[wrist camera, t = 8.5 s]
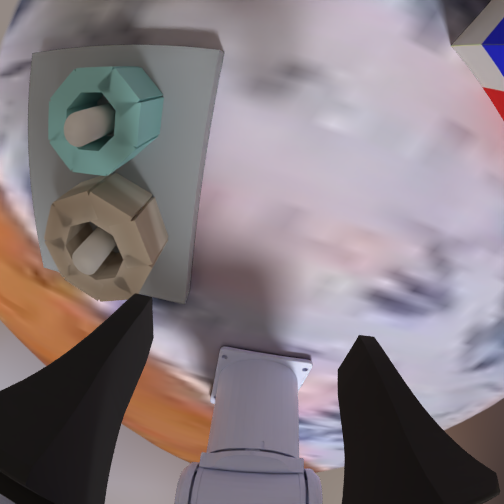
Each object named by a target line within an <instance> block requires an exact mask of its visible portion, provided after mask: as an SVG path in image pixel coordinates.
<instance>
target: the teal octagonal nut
mask: <svg viewBox="0 0 504 504" xmlns="http://www.w3.org/2000/svg"><path fill="white" fill-rule="evenodd" d="M103 95H104V96H105V97H106V99H107V100H108V101H109V103H110V104H111V105H112V106H113V108H114V109H115V110H116V113H115V128H114V136H107V135H105V136H103V137H101V138H99V139H96V140H94V141H92V142H90V143H88V144H86V145H84V146H81V147H75V146H73V145H71V144H70V143H69V142H68V141H67V140H66V138H65V135H64V124H65V121H66V119H67V117H68V116H69V115H70V114H72V113H74V112H77V111H81V110H84V109H88V108H91V107H95V106H97V101H98V100H99V99H100V98H101V97H102V96H103ZM161 96H163V94H162V93H161V91H160V90H159V89H158V87H157V86H156V85H155V84H154V82H153V81H152V80H151V79H150V77H149V76H148V75H147V74H146V72H145V71H144V70H143V69H142V68H139V67H135V66H111V67H85V68H76V69H74V70H73V71H72V72H71V73H70V75H69V76H68V77H67V78H66V79H65V81H64V82H63V83H62V84H61V85H60V87H59V88H58V89H57V90H56V92H55V93H54V94H53V95H52V97H51V98H50V100H51V101H49V117H48V140H51V141H50V142H49V143H50V144H51V145H52V147H53V148H54V150H55V151H56V152H57V154H58V155H59V156H60V158H61V159H62V160H63V162H64V163H65V164H66V165H67V167H68V168H69V169H70V171H71V170H73V172H77V173H85V174H93V175H100V176H107V175H109V174H111V173H112V172H114V171H115V170H116V169H118V168H119V167H121V166H122V165H124V164H125V163H127V162H128V161H130V160H131V159H133V158H134V157H135V156H136V155H137V154H138V153H139V152H141V151H142V150H143V149H144V148H145V147H146V146H148V145H149V144H150V143H151V142H152V141H153V140H155V139H156V138H157V137H158V135H159V134H160V127H161V118H162V109H163V101H164V97H161Z"/></svg>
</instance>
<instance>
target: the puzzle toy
mask: <svg viewBox="0 0 504 504" xmlns="http://www.w3.org/2000/svg"><path fill="white" fill-rule="evenodd" d="M451 47H452V48H453V49H454V50H455V51H456V53H457V54H458V55H459V56H460V58H461V59H462V60H463V61H464V63H465V64H466V65H467V67H468V68H469V69H470V71H471V72H472V73H473V75H474V76H475V77H476V79H477V80H478V82H479V83H480V84H481V86H482V87H483V89H484V90H485V92H486V93H487V95H488V96H489V98H490V99H491V101H492V102H493V104H494V106H495V107H496V109H497V110H498V112H499V114H500V115H501V117H502V119H503V120H504V0H491V2H490V3H489V4H488V5H487V6H486V7H485V8H484V9H483V11H482V12H481V13H480V14H479V15H478V16H477V17H476V18H475V20H474V21H473V22H472V23H471V24H470V25H469V26H468V27H467V29H466V30H465V31H464V32H463V33H462V34H461V35H460V36H459V37H458V39H457V40H456V41H455V42H454V43H453V44H452V45H451Z"/></svg>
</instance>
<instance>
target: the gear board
mask: <svg viewBox="0 0 504 504" xmlns="http://www.w3.org/2000/svg"><path fill="white" fill-rule="evenodd" d="M223 57H224V52H223V51H221V50H216V49H207V48H197V47H184V46H168V45H103V46H87V47H76V48H66V49H58V50H50V51H43V52H37V53H33V54H32V62H31V72H30V85H29V103H28V148H29V168H30V180H31V191H32V200H33V208H34V215H35V222H36V229H37V235H38V240H39V246H40V251H41V256H42V261H43V265H44V268H48V269H51V270H54V271H58V272H59V270H58V268H57V266H56V264H55V262H54V260H53V258H52V256H51V254H50V252H49V250H48V248H47V246H46V244H45V241H46V240H45V239H44V235H45V230H46V225H47V221H48V216H49V212H50V208H51V204H53V202H54V201H56V200H57V199H58V198H60V197H61V196H62V195H64V194H65V193H66V192H68V191H69V190H71V189H72V188H73V187H75V186H76V185H78V184H79V183H81V182H84V181H87V180H90V179H93V178H96V177H99V176H100V175H93V174H85V173H77V172H73V170H71V171H70V169H69V168H68V167H67V165H66V164H65V163H64V162H63V160H62V159H61V158H60V156H59V155H58V154H57V152H56V151H55V150H54V148H53V147H52V145H51V144H50V143H49V142H50V141H51V140H48V117H49V101H51V100H50V98H51V97H52V95H53V94H54V93H55V92H56V90H57V89H58V88H59V87H60V85H61V84H62V83H63V82H64V81H65V79H66V78H67V77H68V76H69V75H70V73H71V72H72V71H73V70H74V69H76V68H85V67H111V66H135V67H139V68H142V69H143V70H144V71H145V72H146V74H147V75H148V76H149V77H150V79H151V80H152V81H153V82H154V84H155V85H156V86H157V87H158V89H159V90H160V91H161V93H162V94H163V96H161V97H164V101H163V109H162V118H161V127H160V134H159V135H158V137H157V138H156V139H155V140H153V141H152V142H151V143H150V144H149V145H148V146H146V147H145V148H144V149H143V150H142V151H141V152H139V153H138V154H137V155H136V156H135V157H134V158H133V159H131V160H130V161H128V162H127V163H125V164H124V165H122V166H121V167H119V168H118V169H116V170H115V171H114V172H113V173H114V174H115V173H118V174H120V175H121V176H123V177H124V178H126V179H128V180H129V181H131V182H133V183H134V184H136V185H138V186H139V187H141V188H143V189H144V190H146V191H148V192H149V193H151V194H153V195H152V197H151V198H154V197H155V199H156V202H157V205H158V208H159V211H160V214H161V217H162V219H163V222H164V225H165V228H166V231H167V234H168V236H169V237H168V241H167V243H166V245H165V246H164V248H163V250H162V252H161V254H160V255H159V257H158V259H157V261H156V263H155V264H154V266H153V268H152V270H151V272H150V273H149V275H148V277H147V279H146V281H145V283H144V284H143V286H142V288H141V290H140V292H139V294H143V295H147V296H151V297H155V298H160V299H164V300H168V301H173V302H177V303H181V304H185V302H186V299H187V296H188V294H189V291H190V280H191V270H192V260H193V251H194V242H195V233H196V225H197V217H198V209H199V201H200V193H201V186H202V179H203V172H204V165H205V158H206V152H207V145H208V139H209V133H210V127H211V121H212V115H213V109H214V104H215V98H216V93H217V87H218V82H219V77H220V72H221V67H222V62H223ZM115 113H116V110H115V109H114V108H113V106H112V105H111V104H110V103H109V101H108V100H107V99H106V97H105V96H104V95H103V96H102V97H101V98H100V99H99V100H98V101H97V106H95V107H91V108H88V109H84V110H81V111H77V112H74V113H72V114H70V115H69V116H68V117H67V119H66V121H65V124H64V135H65V138H66V140H67V141H68V142H69V143H70V144H71V145H73V146H75V147H81V146H84V145H86V144H88V143H90V142H92V141H94V140H96V139H99V138H101V137H103V136H105V135H107V136H114V128H115ZM89 223H90V225H91V227H92V230H93V232H92V233H91V234H90V235H89V236H88V237H87V239H86V240H85V241H84V242H83V243H82V244H81V245H80V246H79V247H78V248H77V249H76V250H75V252H74V253H73V255H72V260H73V263H74V265H75V267H76V268H77V269H78V270H79V271H80V272H82V273H84V274H86V275H92V274H94V273H95V272H96V271H97V269H98V268H99V267H100V265H101V264H102V263H103V261H104V260H105V259H106V257H107V256H108V255H109V254H110V252H111V251H113V252H115V253H119V252H120V251H119V249H118V247H117V244H116V242H115V240H114V237H113V235H111V234H109V233H108V232H106V231H105V230H103V229H101V228H100V227H98V226H97V225H95V224H93V223H92V222H90V221H89Z"/></svg>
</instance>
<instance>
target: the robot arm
mask: <svg viewBox="0 0 504 504" xmlns="http://www.w3.org/2000/svg"><path fill="white" fill-rule="evenodd" d="M152 341H153V311H152V297H149V296H145V295H141V294H136V293H135V294H134V295H132V296H131V297H130V298H129V299H128V300H127V301H126V302H125V303H124V304H123V305H122V306H121V307H120V308H118V309H117V310H116V311H115V312H114V313H113V314H112V315H111V316H110V317H109V318H108V319H107V320H105V321H104V322H103V323H102V324H101V325H100V326H99V327H97V328H96V329H95V330H94V331H93V332H92V333H91V334H89V335H88V336H87V337H86V338H84V339H83V340H82V341H81V342H79V343H78V344H77V345H76V346H74V347H73V348H72V349H71V350H69V351H68V352H67V353H65V354H64V355H62V356H61V357H60V358H58V359H57V360H55V361H54V362H52V363H51V364H49V365H48V366H46V367H45V368H43V369H41V370H40V371H38V372H36V373H35V374H33V375H31V376H29V377H28V378H26V379H24V380H22V381H20V382H18V383H16V384H14V385H12V386H10V387H8V388H6V389H4V390H1V391H0V504H104V503H105V496H106V489H107V482H108V477H109V472H110V467H111V462H112V458H113V453H114V449H115V445H116V441H117V437H118V433H119V430H120V426H121V422H122V420H123V417H124V414H125V411H126V409H127V406H128V404H129V402H130V399H131V397H132V394H133V392H134V390H135V387H136V385H137V383H138V380H139V378H140V376H141V373H142V371H143V369H144V366H145V364H146V361H147V358H148V354H149V351H150V348H151V344H152ZM312 366H313V364H312V361H311V360H306V359H299V358H292V357H285V356H278V355H272V354H266V353H260V352H254V351H248V350H242V349H237V348H232V347H222V348H221V349H220V352H219V358H218V363H217V368H216V373H215V378H214V383H213V389H212V394H211V399H210V402H211V403H213V404H215V405H214V411H213V417H212V423H211V429H210V435H209V441H208V447H207V453H203V452H202V453H201V458H200V463H198V462H192V463H191V464H190V465H189V466H187V467H186V468H185V469H184V470H183V471H182V473H181V475H180V478H179V481H178V484H177V489H176V494H175V503H174V504H322V487H321V482H320V479H319V477H318V475H316V474H315V473H314V471H313V470H312V469H304V459H303V458H299V414H298V391H299V389H300V387H301V386H302V384H303V382H304V380H305V379H306V377H307V375H308V373H309V372H310V370H311V368H312ZM338 400H339V408H340V416H341V424H342V432H343V441H344V453H345V466H344V469H345V470H344V487H343V498H342V504H483V503H485V502H487V501H489V500H490V499H492V498H494V497H496V496H497V495H499V493H500V489H499V483H498V479H497V475H496V473H495V472H494V471H492V470H491V469H489V468H488V467H486V466H485V465H483V464H482V463H480V462H479V461H477V460H476V459H475V458H473V457H472V456H471V455H470V454H468V453H467V452H466V451H465V450H463V449H462V448H461V447H460V446H459V445H458V444H457V443H456V442H455V441H454V440H453V439H452V438H451V437H450V436H448V435H447V434H446V433H445V431H444V430H443V429H442V428H441V427H440V426H439V425H438V424H437V423H436V422H435V421H434V419H433V418H432V417H431V416H430V415H429V414H428V412H427V411H426V410H425V409H424V407H423V406H422V405H421V404H420V402H419V401H418V400H417V398H416V397H415V396H414V394H413V393H412V391H411V390H410V389H409V387H408V386H407V384H406V383H405V382H404V380H403V379H402V377H401V376H400V374H399V373H398V371H397V370H396V368H395V367H394V365H393V364H392V362H391V361H390V359H389V358H388V356H387V355H386V353H385V352H384V350H383V349H382V347H381V346H380V344H379V343H378V342H377V340H376V339H375V338H374V337H371V336H363V335H359V336H358V338H357V340H356V341H355V343H354V345H353V346H352V348H351V349H350V351H349V353H348V354H347V356H346V358H345V359H344V361H343V362H342V364H341V365H340V367H339V369H338Z"/></svg>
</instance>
